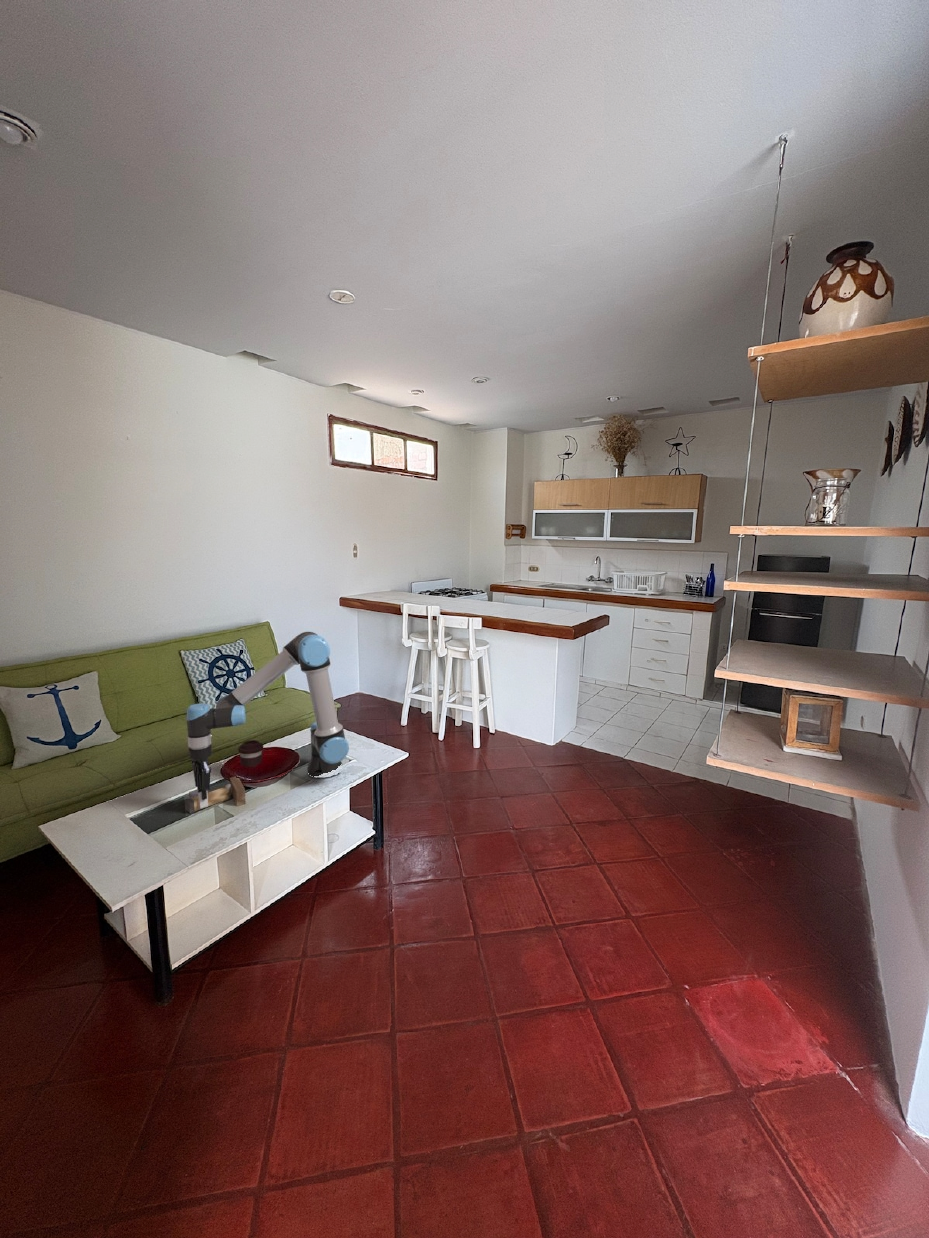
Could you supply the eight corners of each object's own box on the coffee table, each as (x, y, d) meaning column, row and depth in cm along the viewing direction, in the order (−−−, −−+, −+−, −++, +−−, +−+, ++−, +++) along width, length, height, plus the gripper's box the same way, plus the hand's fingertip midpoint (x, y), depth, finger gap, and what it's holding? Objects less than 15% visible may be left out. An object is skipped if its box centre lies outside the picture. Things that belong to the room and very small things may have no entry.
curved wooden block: (238, 790, 200) (237, 775, 200) (245, 803, 189) (244, 789, 188) (230, 791, 199) (229, 777, 198) (237, 806, 187) (236, 791, 186)
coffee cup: (234, 777, 211) (233, 744, 210) (253, 769, 220) (252, 737, 218) (250, 782, 207) (248, 748, 205) (269, 774, 216) (268, 741, 214)
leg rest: (206, 797, 194) (206, 787, 193) (208, 800, 191) (207, 790, 191) (189, 801, 190) (189, 791, 190) (190, 804, 188) (190, 794, 187)
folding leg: (229, 795, 195) (228, 782, 195) (233, 797, 193) (232, 785, 193) (186, 810, 183) (185, 797, 182) (190, 813, 181) (189, 800, 180)
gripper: (217, 747, 180) (220, 808, 182) (204, 739, 189) (207, 797, 191) (195, 753, 174) (199, 816, 177) (182, 744, 183) (186, 804, 186)
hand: (203, 806), depth 184 cm, fingers closed
